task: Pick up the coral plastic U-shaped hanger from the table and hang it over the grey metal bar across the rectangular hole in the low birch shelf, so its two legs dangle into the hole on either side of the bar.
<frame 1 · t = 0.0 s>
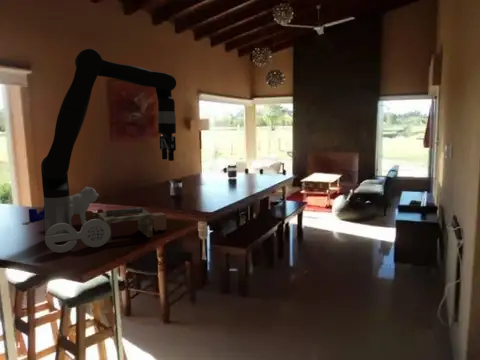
hand: (167, 160, 177), 29 cm above the table, tool pointing down, fingers open, 8 cm apart
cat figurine: (74, 225, 183), on the table
gray double disc plate: (79, 249, 147), on the table
cable clip: (39, 219, 196), on the table
shelf: (125, 235, 165), on the table
hanger: (158, 229, 175), on the table
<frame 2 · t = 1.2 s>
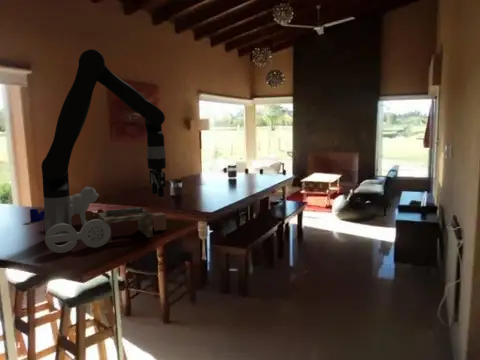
hand: (157, 195, 174), 15 cm above the table, tool pointing down, fingers open, 8 cm apart
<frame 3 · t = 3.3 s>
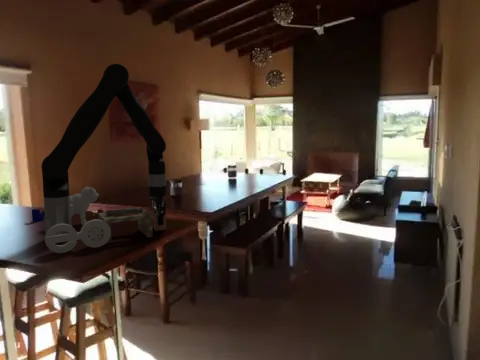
hand: (158, 223, 175), 3 cm above the table, tool pointing down, fingers closed on hanger, 5 cm apart
hanger: (158, 229, 176), on the table, touching gripper
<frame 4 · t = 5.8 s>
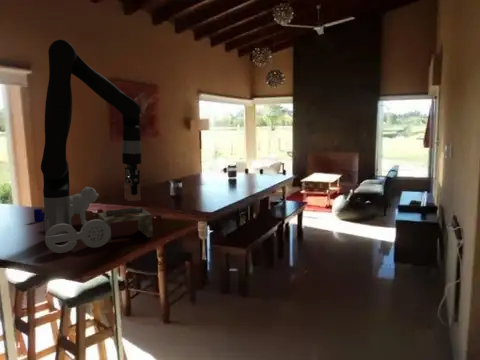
hand: (132, 193, 166), 17 cm above the table, tool pointing down, fingers closed on hanger, 5 cm apart
hanger: (132, 199, 166), point 14 cm above the table, touching gripper
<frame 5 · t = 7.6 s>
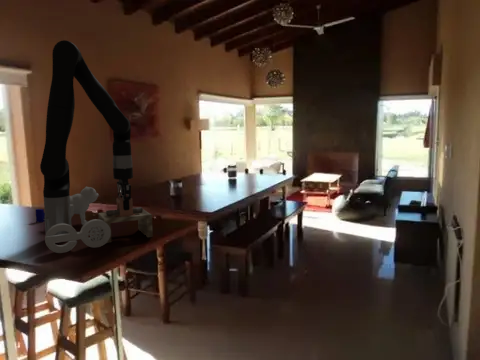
hand: (124, 208, 163), 11 cm above the table, tool pointing down, fingers closed on hanger, 5 cm apart
hanger: (125, 214, 164), point 9 cm above the table, touching gripper
when the fingers open (10 cm above the table, at t = 8.8 s): hanger drops 1 cm, resting on shelf.
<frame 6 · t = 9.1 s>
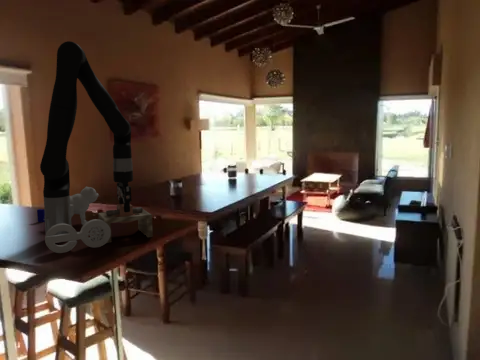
hand: (124, 210, 164), 11 cm above the table, tool pointing down, fingers open, 8 cm apart
hanger: (125, 221, 164), point 6 cm above the table, touching shelf
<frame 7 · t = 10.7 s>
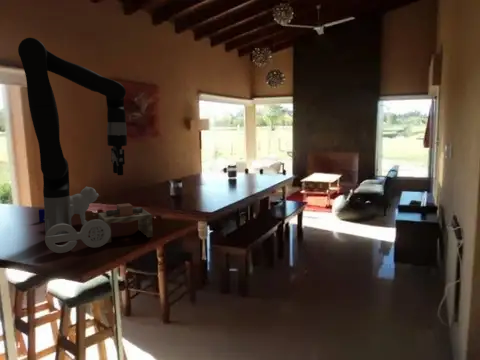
hand: (118, 174, 166), 25 cm above the table, tool pointing down, fingers open, 8 cm apart
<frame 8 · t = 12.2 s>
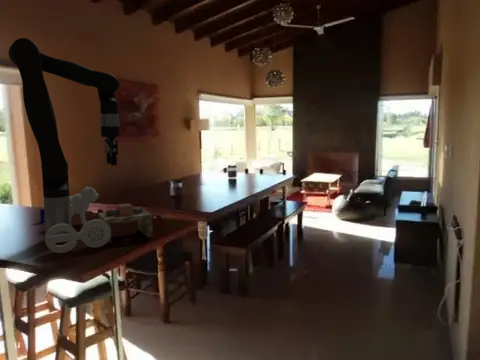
hand: (111, 164, 170), 28 cm above the table, tool pointing down, fingers open, 8 cm apart
at the end: hanger 0.0 cm off-centre on the shelf, point 6.0 cm above the shelf's base; hanger tilted 1°; the gripper is holding nothing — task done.
